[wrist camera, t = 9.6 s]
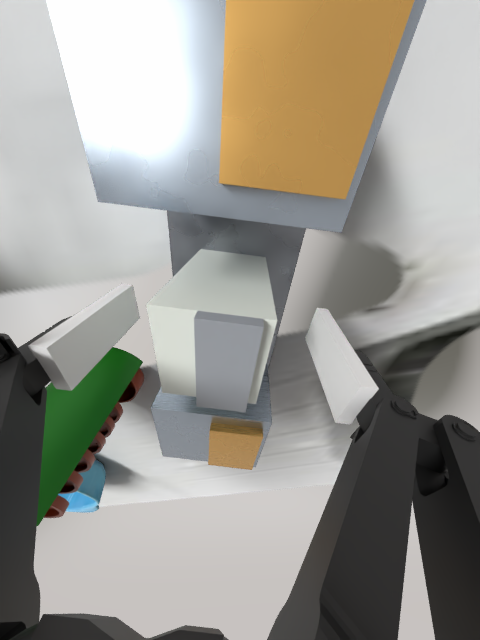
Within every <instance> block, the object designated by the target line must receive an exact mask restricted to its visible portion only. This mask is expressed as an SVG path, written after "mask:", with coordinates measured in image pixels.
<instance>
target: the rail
mask: <svg viewBox="0 0 480 640" xmlns="http://www.w3.org/2000/svg"><path fill="white" fill-rule="evenodd" d="M47 3H48V7H49V11H50V15H51V19H52V23H53V27H54V30H55V34H56V38H57V42H58V46H59V50H60V54H61V58H62V62H63V66H64V70H65V74H66V78H67V81H68V85H69V89H70V93H71V97H72V101H73V105H74V109H75V113H76V117H77V121H78V125H79V129H80V132H81V136H82V140H83V144H84V148H85V152H86V156H87V160H88V164H89V168H90V172H91V176H92V180H93V184H94V187H95V191H96V195H97V199H98V202H105V203H112V204H120V205H128V206H136V207H144V208H152V209H160V210H167V216H168V227H169V238H170V250H171V261H172V270H173V271H172V272H173V277H174V276H175V275H176V274H177V273H178V272H179V270H180V269H181V268H182V267H183V266H184V265H185V264H186V263H187V262H188V261H189V260H190V259H191V258H192V257H193V256H194V255H195V254H196V253H197V252H198V251H199V250H200V249H205V250H213V251H221V252H229V253H237V254H245V255H253V256H261V257H266V262H267V267H268V273H269V278H270V284H271V289H272V295H273V300H274V305H275V311H276V316H277V324H276V327H275V331H274V335H273V339H272V343H271V347H270V351H269V355H268V359H267V363H266V366H265V370H264V374H263V378H262V382H261V386H260V390H259V394H258V398H257V402H256V404H251V403H247V408H246V412H238V411H229V410H221V409H213V408H205V407H197V405H196V397H193V396H185V395H177V394H168V393H162V389H161V388H160V390H159V392H158V394H157V396H156V398H155V400H154V402H153V404H152V406H151V411H152V415H153V419H154V423H155V427H156V431H157V435H158V439H159V443H160V446H161V450H162V454H163V456H166V457H174V458H183V459H191V460H200V461H208V465H216V466H224V467H232V468H241V469H249V470H252V468H253V467H256V465H257V462H258V459H259V457H260V454H261V451H262V448H263V446H264V443H265V440H266V438H267V435H268V432H269V429H270V427H271V424H272V417H271V404H270V391H269V378H268V367H269V364H270V360H271V356H272V353H273V349H274V345H275V342H276V338H277V334H278V330H279V326H280V323H281V319H282V316H283V312H284V308H285V304H286V300H287V297H288V293H289V290H290V286H291V282H292V278H293V275H294V271H295V267H296V264H297V260H298V256H299V252H300V249H301V245H302V241H303V237H304V234H305V230H306V228H309V229H317V230H325V231H333V232H341V233H342V230H343V227H344V224H345V222H346V219H347V216H348V213H349V211H350V208H351V205H352V203H353V200H354V197H355V194H356V192H357V189H358V186H359V183H360V181H361V178H362V175H363V172H364V170H365V167H366V164H367V162H368V159H369V156H370V153H371V151H372V148H373V145H374V142H375V140H376V137H377V134H378V132H379V129H380V126H381V123H382V121H383V118H384V115H385V112H386V110H387V107H388V104H389V101H390V99H391V96H392V93H393V91H394V88H395V85H396V82H397V80H398V77H399V74H400V71H401V69H402V66H403V63H404V60H405V58H406V55H407V52H408V50H409V47H410V44H411V41H412V39H413V36H414V33H415V30H416V28H417V25H418V22H419V20H420V17H421V14H422V11H423V9H424V6H425V3H426V0H47Z"/></svg>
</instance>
